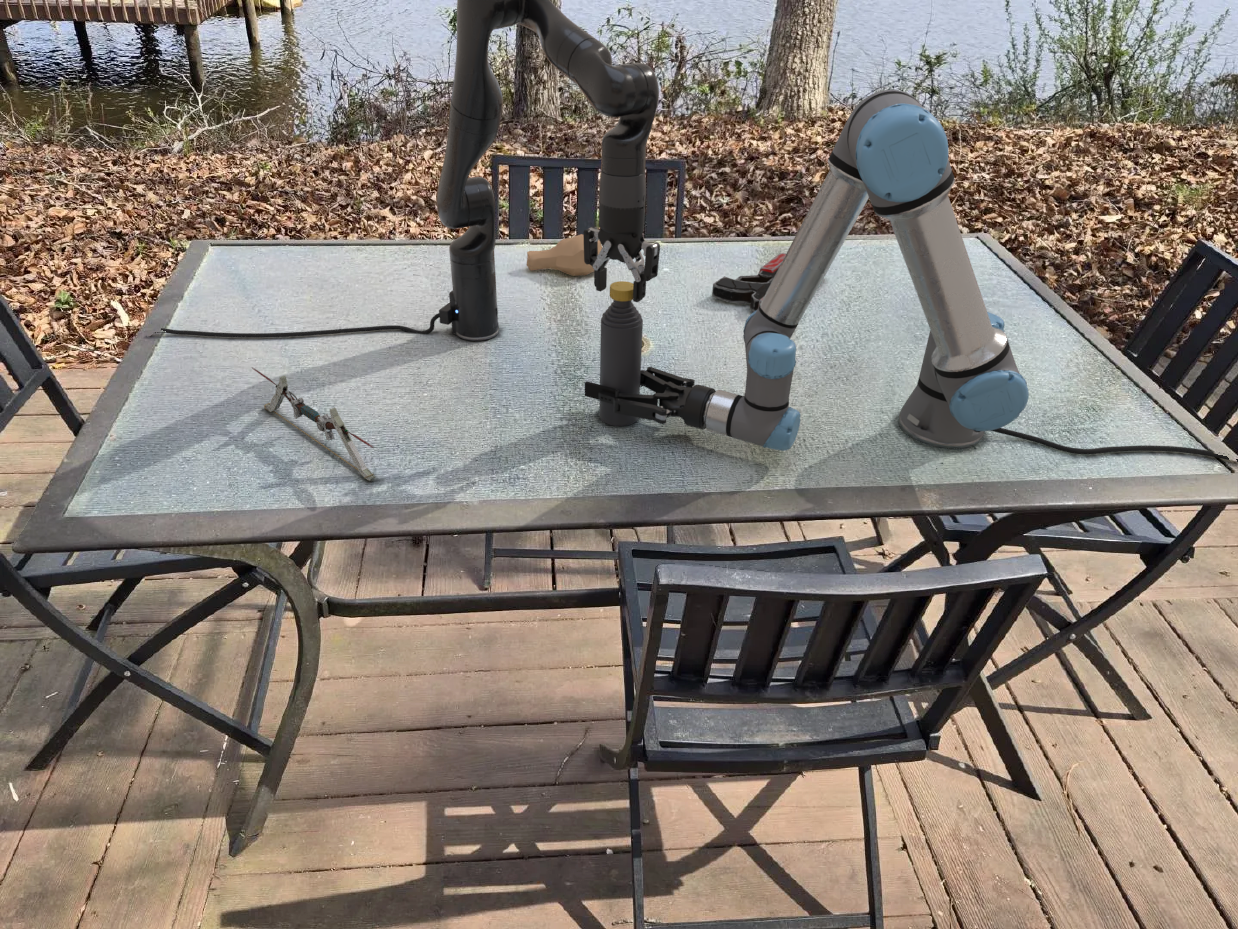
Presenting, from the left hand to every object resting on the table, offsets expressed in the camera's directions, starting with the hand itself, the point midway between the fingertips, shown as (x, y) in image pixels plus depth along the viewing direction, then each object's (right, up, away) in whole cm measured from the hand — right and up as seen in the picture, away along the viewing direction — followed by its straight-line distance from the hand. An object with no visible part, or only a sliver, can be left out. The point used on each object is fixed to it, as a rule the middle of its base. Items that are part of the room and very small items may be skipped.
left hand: (619, 294), depth 150 cm
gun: (+37, +14, +66) cm, 77 cm away
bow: (-53, -25, +4) cm, 59 cm away
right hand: (-4, -13, +12) cm, 18 cm away
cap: (+1, +1, 0) cm, 1 cm away
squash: (-14, +20, +73) cm, 77 cm away
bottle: (0, -20, +14) cm, 24 cm away
